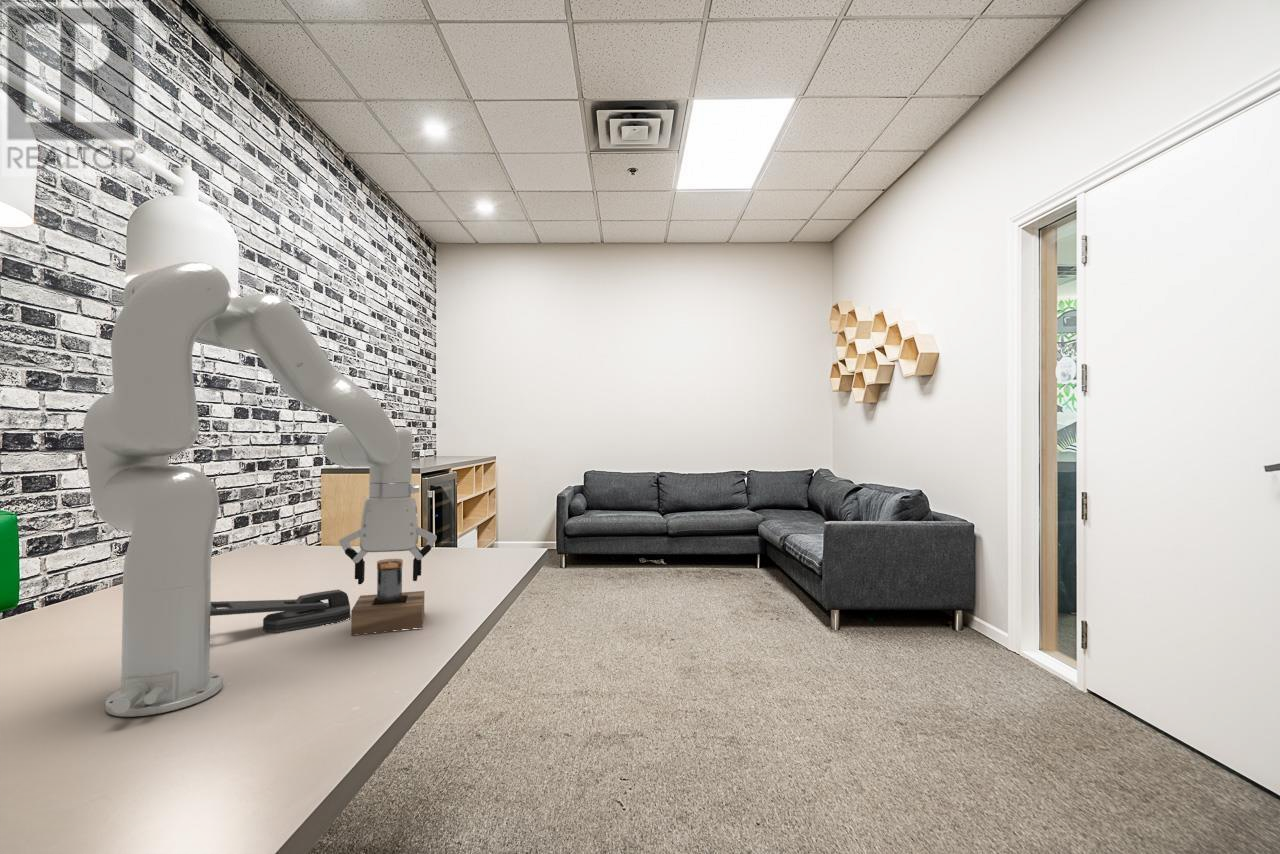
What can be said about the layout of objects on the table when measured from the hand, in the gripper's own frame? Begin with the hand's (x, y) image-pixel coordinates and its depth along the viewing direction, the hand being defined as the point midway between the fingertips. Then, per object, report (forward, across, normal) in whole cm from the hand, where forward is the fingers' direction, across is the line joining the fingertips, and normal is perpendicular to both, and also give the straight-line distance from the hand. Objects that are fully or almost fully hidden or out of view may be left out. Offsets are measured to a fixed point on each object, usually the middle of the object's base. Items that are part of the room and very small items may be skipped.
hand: (388, 581), depth 115 cm
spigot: (+8, 0, 0) cm, 8 cm away
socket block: (+8, 0, 0) cm, 8 cm away
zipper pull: (+9, +19, -4) cm, 22 cm away
